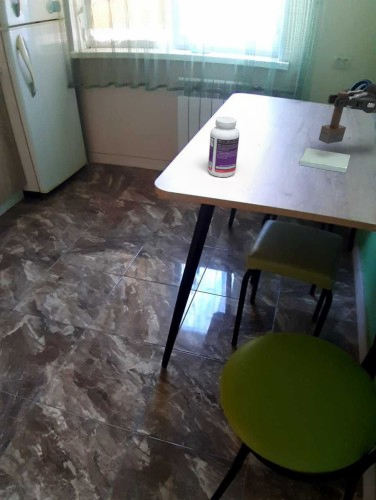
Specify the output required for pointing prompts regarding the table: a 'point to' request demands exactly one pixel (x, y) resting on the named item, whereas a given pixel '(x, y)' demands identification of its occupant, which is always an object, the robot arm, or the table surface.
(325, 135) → the brush
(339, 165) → the tile
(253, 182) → the table surface
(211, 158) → the pill bottle
